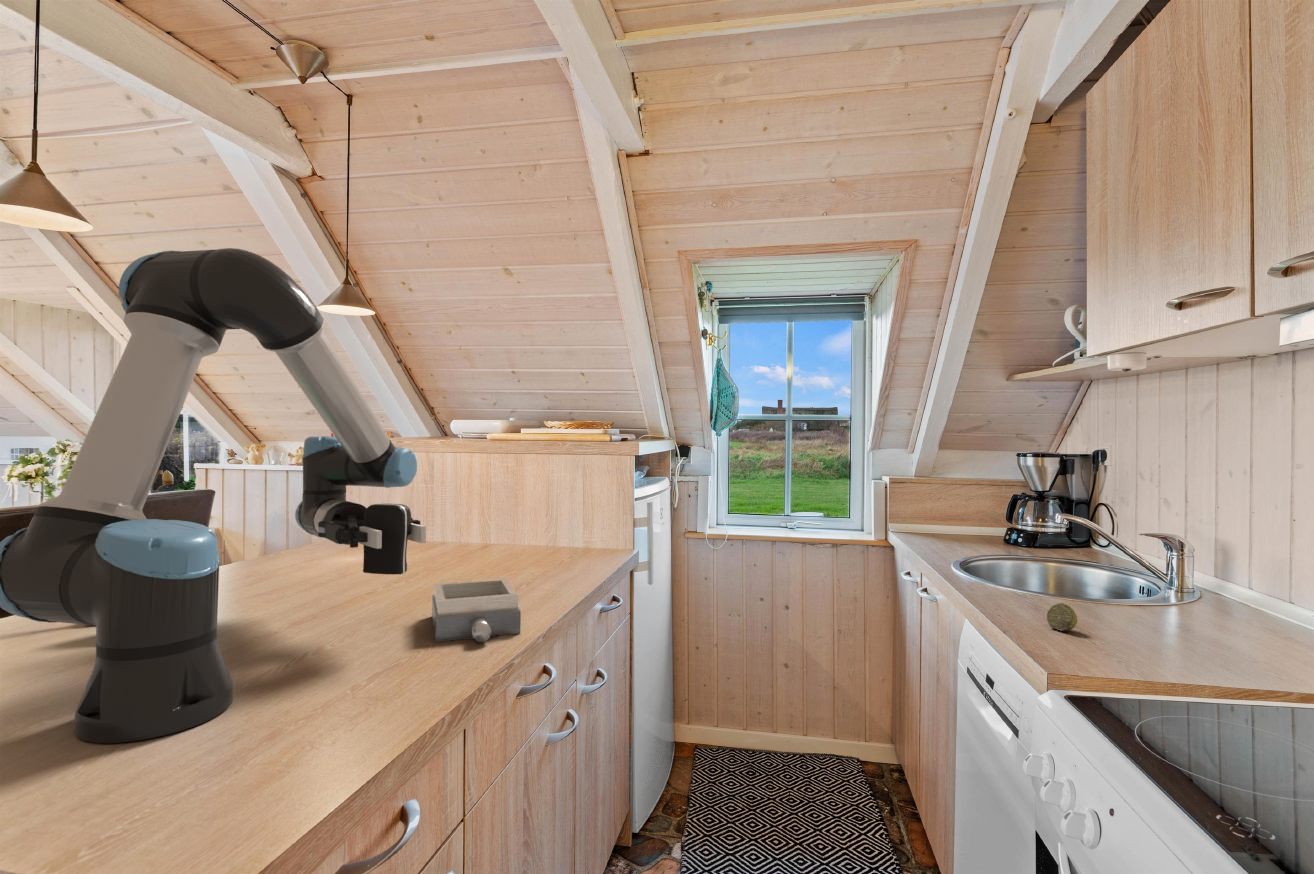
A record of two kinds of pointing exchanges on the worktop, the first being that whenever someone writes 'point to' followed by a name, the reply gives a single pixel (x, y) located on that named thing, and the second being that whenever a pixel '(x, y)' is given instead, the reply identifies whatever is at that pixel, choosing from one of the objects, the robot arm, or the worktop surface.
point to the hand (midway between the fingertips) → (401, 537)
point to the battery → (388, 538)
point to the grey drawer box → (475, 610)
